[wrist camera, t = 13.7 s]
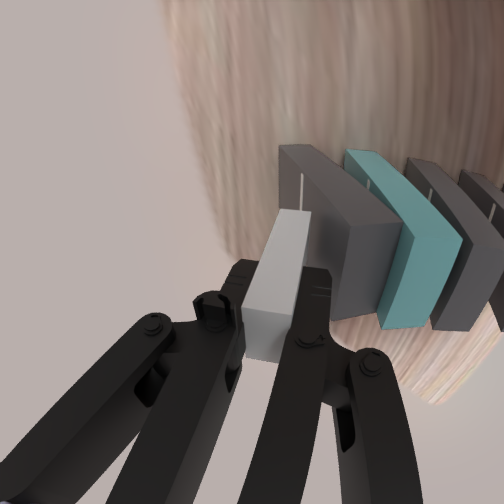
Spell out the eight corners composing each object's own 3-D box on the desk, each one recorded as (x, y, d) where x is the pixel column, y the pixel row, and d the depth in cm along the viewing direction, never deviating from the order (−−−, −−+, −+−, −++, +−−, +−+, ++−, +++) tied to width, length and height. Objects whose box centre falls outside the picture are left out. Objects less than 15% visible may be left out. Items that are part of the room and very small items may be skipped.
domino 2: (344, 148, 18) (413, 236, 9) (376, 151, 18) (463, 239, 8) (338, 209, 21) (380, 329, 12) (368, 211, 21) (424, 326, 11)
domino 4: (461, 169, 16) (543, 258, 7) (483, 175, 16) (566, 263, 6) (447, 223, 19) (500, 331, 10) (469, 227, 19) (525, 331, 9)
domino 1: (278, 145, 19) (349, 226, 9) (310, 144, 19) (404, 221, 10) (278, 206, 22) (330, 321, 12) (308, 204, 22) (376, 311, 12)
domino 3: (407, 157, 18) (473, 244, 8) (435, 163, 17) (513, 251, 8) (396, 215, 21) (431, 329, 11) (423, 219, 20) (469, 331, 11)
